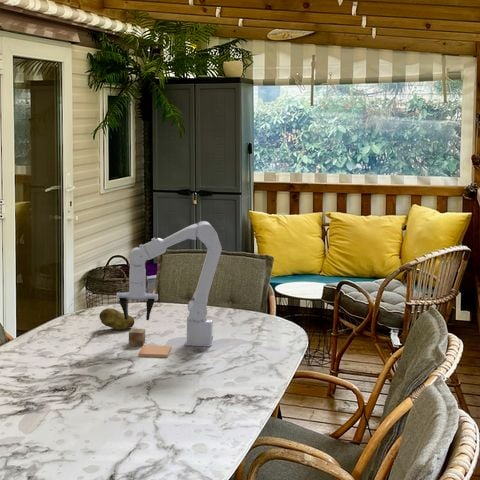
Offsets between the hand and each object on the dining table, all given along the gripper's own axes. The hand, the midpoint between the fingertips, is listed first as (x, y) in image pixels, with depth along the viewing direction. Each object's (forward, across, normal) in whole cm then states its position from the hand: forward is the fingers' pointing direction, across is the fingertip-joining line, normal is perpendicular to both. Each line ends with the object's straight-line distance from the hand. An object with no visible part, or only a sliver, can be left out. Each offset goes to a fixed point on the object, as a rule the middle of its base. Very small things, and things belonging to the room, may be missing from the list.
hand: (137, 319), depth 265 cm
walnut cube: (+9, 0, 0) cm, 9 cm away
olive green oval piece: (+9, +11, -18) cm, 23 cm away
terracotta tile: (+9, -8, +9) cm, 15 cm away
